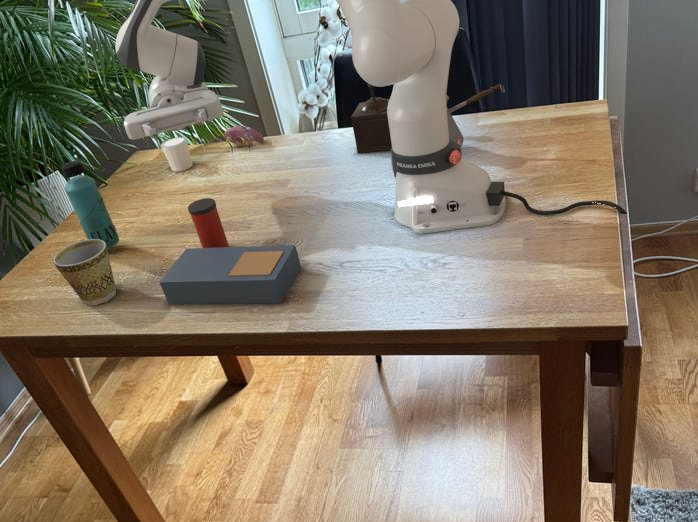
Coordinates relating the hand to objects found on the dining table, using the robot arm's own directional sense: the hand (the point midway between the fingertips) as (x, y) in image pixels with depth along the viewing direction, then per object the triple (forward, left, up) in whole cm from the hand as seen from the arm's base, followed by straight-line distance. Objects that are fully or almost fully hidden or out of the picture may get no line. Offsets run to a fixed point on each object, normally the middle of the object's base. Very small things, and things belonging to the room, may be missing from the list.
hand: (176, 127), depth 140 cm
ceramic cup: (+14, +25, -23) cm, 36 cm away
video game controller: (+10, -47, -23) cm, 54 cm away
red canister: (-6, +11, -23) cm, 26 cm away
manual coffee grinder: (-30, -43, -23) cm, 58 cm away
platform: (-15, +23, -23) cm, 36 cm away
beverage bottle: (+22, +8, -23) cm, 33 cm away
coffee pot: (-51, -32, -23) cm, 65 cm away
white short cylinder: (+24, -35, -23) cm, 49 cm away
